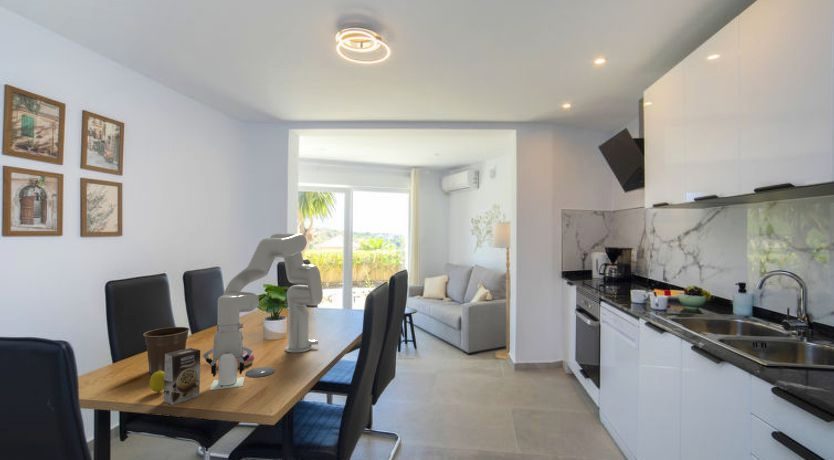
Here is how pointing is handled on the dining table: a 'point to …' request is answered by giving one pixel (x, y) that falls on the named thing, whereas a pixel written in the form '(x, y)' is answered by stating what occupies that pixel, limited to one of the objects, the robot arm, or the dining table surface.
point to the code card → (237, 384)
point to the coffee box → (182, 375)
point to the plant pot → (164, 345)
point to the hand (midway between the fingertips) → (227, 373)
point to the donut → (246, 360)
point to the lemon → (157, 381)
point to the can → (227, 369)
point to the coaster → (260, 371)
